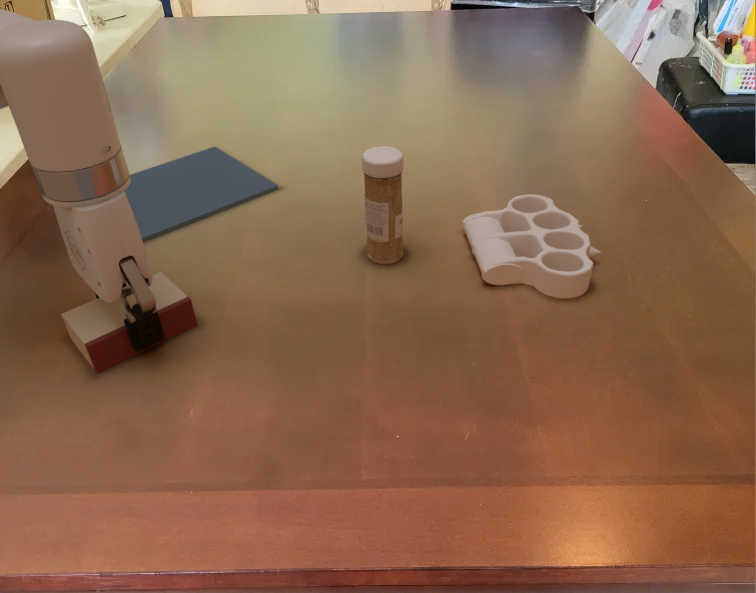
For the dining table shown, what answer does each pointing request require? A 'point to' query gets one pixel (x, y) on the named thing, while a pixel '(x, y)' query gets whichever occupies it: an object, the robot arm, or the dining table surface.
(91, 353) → the book
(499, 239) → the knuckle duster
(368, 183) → the sprinkles bottle
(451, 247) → the dining table surface
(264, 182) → the mat
